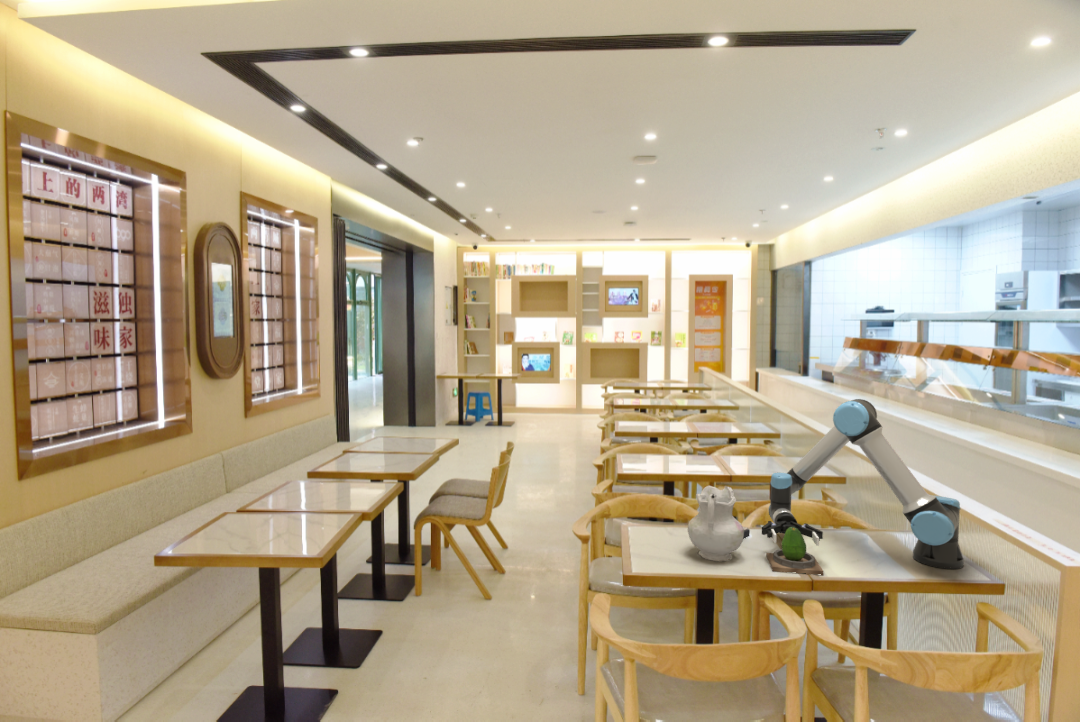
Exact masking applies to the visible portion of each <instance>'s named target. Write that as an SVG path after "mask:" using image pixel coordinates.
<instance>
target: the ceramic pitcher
mask: <svg viewBox="0 0 1080 722" xmlns="http://www.w3.org/2000/svg"><path fill="white" fill-rule="evenodd" d="M695 498H696V500H697V503H698V508H699V511H698V513H697V515H695V516H693V517H692V518H691V519H690V520H689V521H688V524H687V533H688V538H689V540H690V542H691V543H692V545H693V546H694V547H695V548H697V549H698V550H699V552H698V553H697V555H699V556H701V557H702V558H703V559H705V560H706V561H713V562H725V561H731V559H733V555H732V553H734V552H735V551H737V550H738V549H739V548H740V546H741V545H742V543H743V541H744V539H743V537H744V529H743V527H744V526H743V525H742V523H741V522H740V521H739V520H737V518H735V517H734V516H733V510H734V506H735V504H736V502H737V498H736V497H735V493H734V489H732V487H731V486H727V485H725V486H724V488H723V489H719V488H718V487H716V486H712V485H706V486H705V487H704V488H703V489H702V490H701V491H700V493H696V495H695Z"/></svg>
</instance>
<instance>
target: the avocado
mask: <svg viewBox="0 0 1080 722" xmlns="http://www.w3.org/2000/svg"><path fill="white" fill-rule="evenodd" d="M781 549H782V551H783V554H784V556H785V557H786V558H787V559H788V560H790V561H799V560H801V559H802V558H803V557H804V555H805V553H806V552H807V544H806V541H805V537H804V535H802V534H801V532H800V531H799V530H798V529H797V528H795V527H789V528H788V529H787V530H786V532H785V534H783V539H782V541H781Z"/></svg>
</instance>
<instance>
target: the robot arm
mask: <svg viewBox="0 0 1080 722" xmlns="http://www.w3.org/2000/svg"><path fill="white" fill-rule="evenodd" d="M877 418H878V413H877V409H876V408H875V405H873V404H872V403H871V402H869V401H868V400H865V399H861V398H856V399H852V400H850V401H849V400H848V401H845V402H842V403H841V404H840V405H839V406H837V407H836V409H835V410H834V413H833V415H832V421H833V427H832V428H831V429H829V431H828V432H827V433H825V435H824V436H822V438H821V439H819V441H817V443H816V444H814V446H813V447H811V449H810V450H809V451H807V453H806V454H805V455H804V456H803V457H802V458H800V460H799V461H798V462H796V464H794V465H793V466H792V467H791V468H790V470H789V471H787V472H773V473H772V474H771V477H770V502H769V503H770V504H769V507H768V515H769V517H770V519H771V520H772V521H771V520H768V521H767V523H765V525H763V526H762V527H761V535H763V536H765V535H766V538H768V539H771V540H772V541H773V543H774V544H777V534H783V535H785V532H786V530H787V529H788V528H789V527H795V528H797V529H798V530H799V531H800V532H801V534H802V536H806V537H807V538H808V537H809V538H811V540H812V541H813V543H814V544H815V546H817V547H819V545H820V541H821V540H823V539H824V538H823V537H824V536H823V535H824V532H823V531H822V530H820V529H818V528H815V526H814V527H813V526H812V525H809V524H808V523H806V522H805V523H804V524H803V525H802V524H799V523H798V520H797V519H796V517H795V515H794V514H793V513H792V495H793V494H794V493H796V492H799V491H801V490H802V488H803V487H804V486H805V484H806V483H807V482H808V481H809V480H810V479H812V477H813V476H814V475H816V474H817V473H819V471H820V470H821V469H822V468H823V467H824V466H825V465H826V464H827V463H828V462H829V461H831V459H832V458H833V457H834V456H835V455H836V454H837V453H839V452H840V451H841V449H843V448H844V447H845V446H846V445H848V443H849V442H850V443H851V444H852V445H854V446H858V447H859V448H860V449H861V451H862V452H863V453H864V454H865V456H866V458H867V459H868V460H869V461H870V463H871V464H872V466H873V467H874V469H876V471H877V472H878V474H879V475H880V477H882V479H883V480H884V482H885V484H887V486H888V487H889V488H890V490H891V491H892V492H893V494H894V495H895V497H896V498H897V499H898V501H899V502H900V503H901V505H902V506H903V507H902V508H903V509H902V514H903V515H904V516H905V518H906V520H907V521H908V522H909V524H910V528H911V532H912V534H913V536H914V537H915V538H916V539H917V540H916V543H915V545H914V548H913V550H912V558H913V559H914V560H915V561H917V562H918V563H921V564H924V565H927V566H930V567H934V568H940V569H945V570H946V569H947V570H948V569H949V570H956V569H957V570H958V569H961V568H963V567H964V561H965V560H964V557H963V553H962V550H961V547H960V543H959V538H960V537H959V533H960V531H959V530H960V511H961V506H960V505H961V503H960V501H959V500H958V499H955V498H951V497H948V496H947V497H946V496H940V495H935V494H934V495H932V494H929V493H928V492H927V491H926V490H925V488H924V487H923V486H922V485H921V483H920V482H919V480H917V478H916V477H915V475H914V474H913V473H912V472H911V470H910V469H909V467H908V466H907V464H906V463H905V462H904V461H903V460H902V458H901V457H900V455H899V454H898V453H897V452H896V450H895V449H894V447H892V445H891V444H890V443H889V441H888V440H887V439H886V437H885V435H883V426H882V424H881V423H880V422H879V421H878V419H877Z"/></svg>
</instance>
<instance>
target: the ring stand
mask: <svg viewBox="0 0 1080 722" xmlns="http://www.w3.org/2000/svg"><path fill="white" fill-rule="evenodd" d="M765 554H766V561H768V564H769V566H770V569H771V570H772V571H771V572H774V573H775V572H777V573H787V572H796V573H795V574H799V573H806V574H805V575H811V574H821V575H820V576H824V573H825V572H824V570H823V568H822V567H821V565H820V564H819V562H818V560H817V559H816V557H815V555H813V554H811V553H809V552H807V551H806V553H805V555H804V557H803V558H802V559H801V560H799V561H790V560H788V559H787V558H786V557H785V556H784V554H783V551H782V548H781V549H777V550H775V551H773V552H766V553H765Z"/></svg>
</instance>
